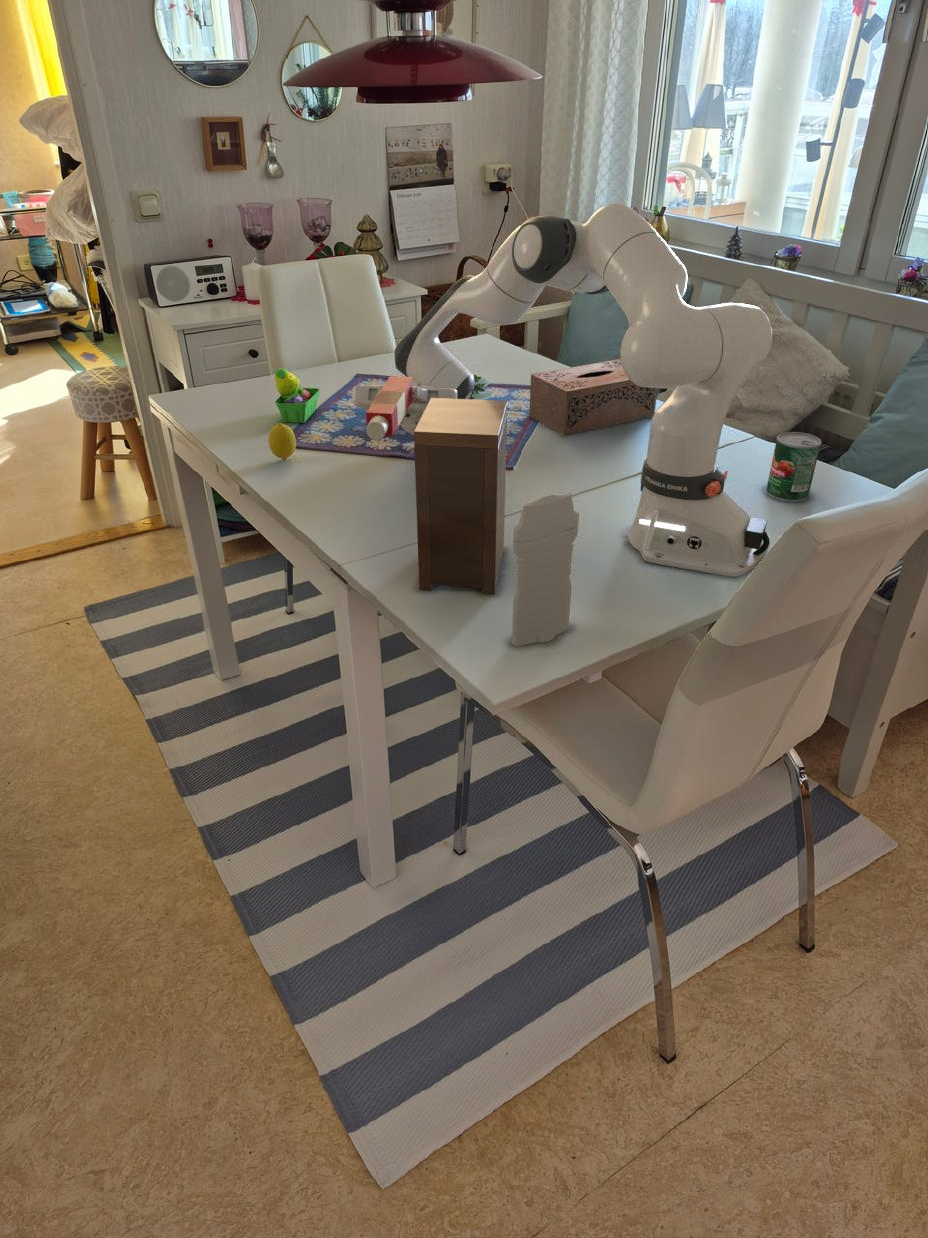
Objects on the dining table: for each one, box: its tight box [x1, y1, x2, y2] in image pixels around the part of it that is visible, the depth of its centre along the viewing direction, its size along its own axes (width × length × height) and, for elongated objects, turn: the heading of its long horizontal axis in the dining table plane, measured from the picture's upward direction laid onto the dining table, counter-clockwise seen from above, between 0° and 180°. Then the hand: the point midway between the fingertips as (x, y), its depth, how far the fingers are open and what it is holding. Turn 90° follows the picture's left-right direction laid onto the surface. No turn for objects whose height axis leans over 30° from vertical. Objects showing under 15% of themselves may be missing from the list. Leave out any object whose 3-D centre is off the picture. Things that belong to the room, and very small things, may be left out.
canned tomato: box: [765, 431, 822, 503], centre depth 163 cm, size 8×8×11 cm
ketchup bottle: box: [365, 375, 413, 441], centre depth 151 cm, size 23×4×4 cm, turn 173°
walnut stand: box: [413, 398, 508, 595], centre depth 134 cm, size 15×12×26 cm
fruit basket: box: [274, 367, 321, 424], centre depth 200 cm, size 11×9×11 cm
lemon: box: [268, 422, 297, 461], centre depth 178 cm, size 6×6×8 cm
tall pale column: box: [511, 492, 580, 647], centre depth 118 cm, size 11×4×22 cm, turn 120°
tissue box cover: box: [528, 358, 659, 436], centre depth 200 cm, size 26×14×10 cm, turn 119°
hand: (398, 390), depth 158 cm, fingers closed on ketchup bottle, 4 cm apart
